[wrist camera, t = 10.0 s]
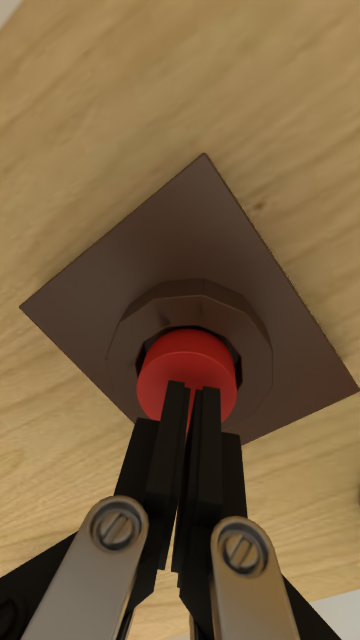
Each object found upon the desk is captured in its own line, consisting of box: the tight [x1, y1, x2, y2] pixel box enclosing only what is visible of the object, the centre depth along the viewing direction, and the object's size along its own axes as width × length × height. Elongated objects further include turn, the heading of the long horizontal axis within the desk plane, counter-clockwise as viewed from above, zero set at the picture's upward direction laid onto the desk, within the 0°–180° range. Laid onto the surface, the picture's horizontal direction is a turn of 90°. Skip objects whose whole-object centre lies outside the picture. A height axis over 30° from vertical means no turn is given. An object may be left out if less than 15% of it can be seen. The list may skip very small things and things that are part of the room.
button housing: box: [19, 153, 360, 446], centre depth 15 cm, size 12×10×4 cm
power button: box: [136, 329, 237, 433], centre depth 13 cm, size 4×4×2 cm
